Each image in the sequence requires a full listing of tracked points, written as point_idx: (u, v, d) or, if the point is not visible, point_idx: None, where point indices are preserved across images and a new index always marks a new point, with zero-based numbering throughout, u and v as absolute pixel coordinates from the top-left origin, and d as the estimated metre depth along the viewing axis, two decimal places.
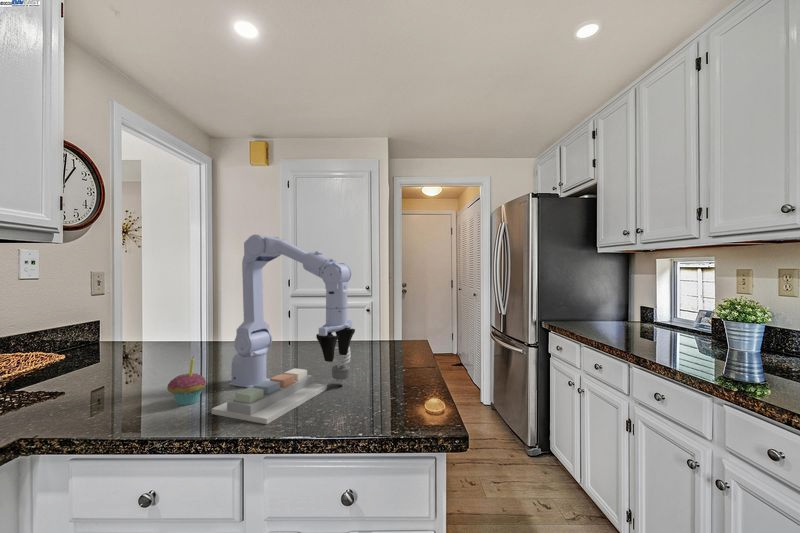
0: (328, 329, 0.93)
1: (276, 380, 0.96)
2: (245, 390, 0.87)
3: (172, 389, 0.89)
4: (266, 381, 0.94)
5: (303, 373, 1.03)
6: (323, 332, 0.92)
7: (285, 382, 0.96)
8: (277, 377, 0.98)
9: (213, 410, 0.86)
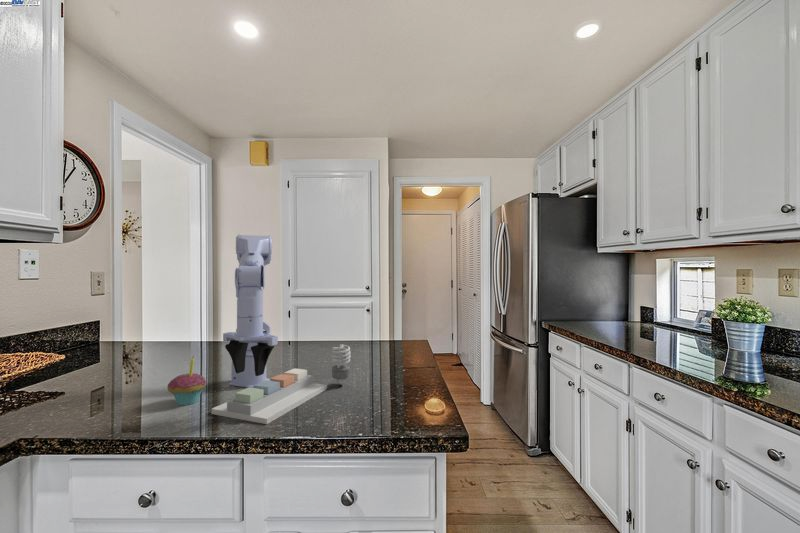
0: (226, 335, 0.88)
1: (276, 380, 0.96)
2: (245, 390, 0.87)
3: (172, 389, 0.89)
4: (266, 381, 0.94)
5: (303, 373, 1.03)
6: None
7: (285, 382, 0.96)
8: (277, 377, 0.98)
9: (213, 410, 0.86)
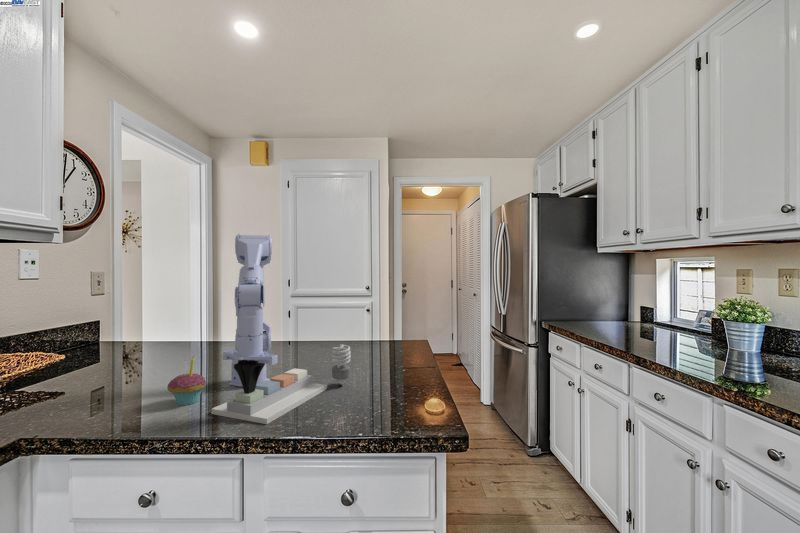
0: (226, 354, 0.88)
1: (276, 380, 0.96)
2: None
3: (172, 389, 0.89)
4: (266, 381, 0.94)
5: (303, 373, 1.03)
6: None
7: (285, 382, 0.96)
8: (277, 377, 0.98)
9: (213, 410, 0.86)
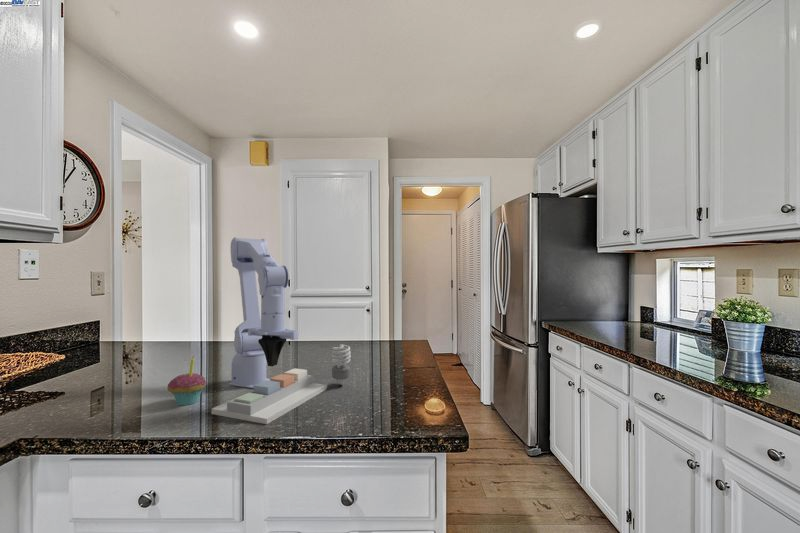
0: (251, 330, 0.95)
1: (276, 380, 0.96)
2: (245, 395, 0.87)
3: (172, 389, 0.89)
4: (266, 381, 0.94)
5: (303, 373, 1.03)
6: None
7: (285, 382, 0.96)
8: (277, 377, 0.98)
9: (213, 410, 0.86)
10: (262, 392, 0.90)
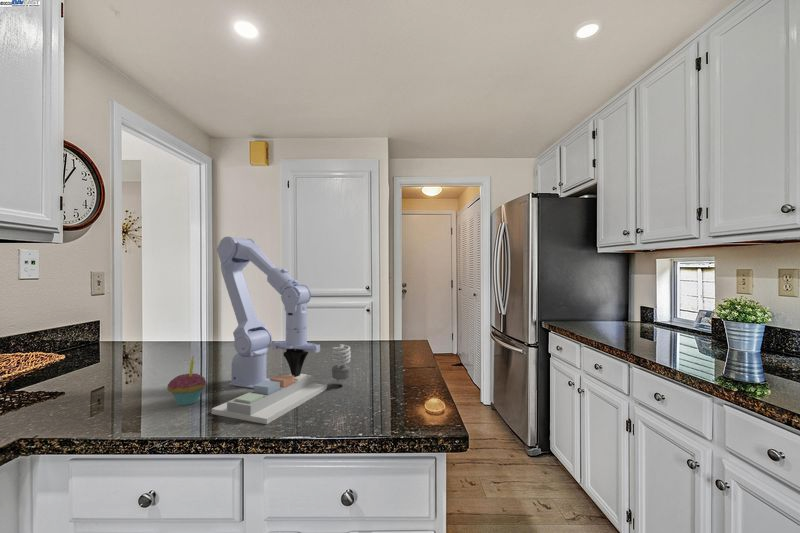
0: (276, 344, 1.04)
1: (276, 380, 0.96)
2: (245, 395, 0.87)
3: (172, 389, 0.89)
4: (266, 381, 0.94)
5: (303, 378, 1.03)
6: None
7: (285, 382, 0.96)
8: (277, 377, 0.98)
9: (213, 410, 0.86)
10: (262, 392, 0.90)
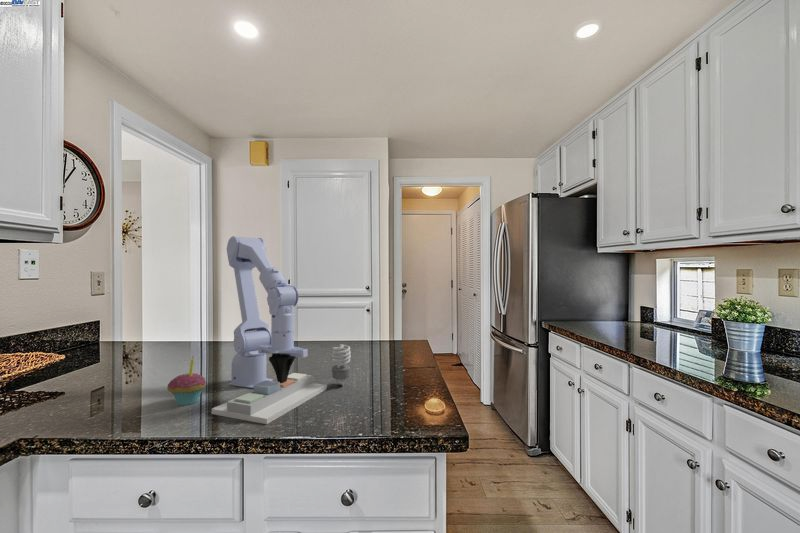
0: (261, 348, 0.99)
1: None
2: (245, 395, 0.87)
3: (172, 389, 0.89)
4: (266, 381, 0.94)
5: (303, 378, 1.03)
6: None
7: (285, 386, 0.96)
8: None
9: (213, 410, 0.86)
10: (262, 392, 0.90)
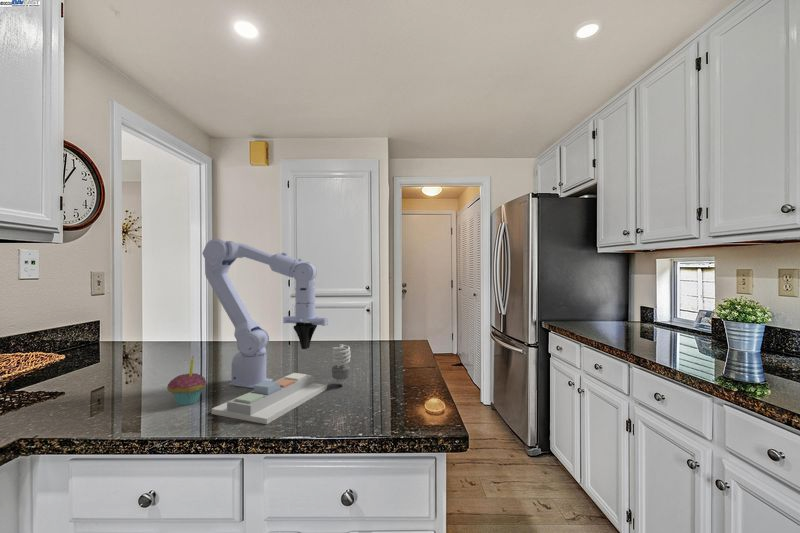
0: (286, 318, 1.10)
1: None
2: (245, 395, 0.87)
3: (172, 389, 0.89)
4: (266, 381, 0.94)
5: (303, 378, 1.03)
6: None
7: None
8: None
9: (213, 410, 0.86)
10: (262, 392, 0.90)
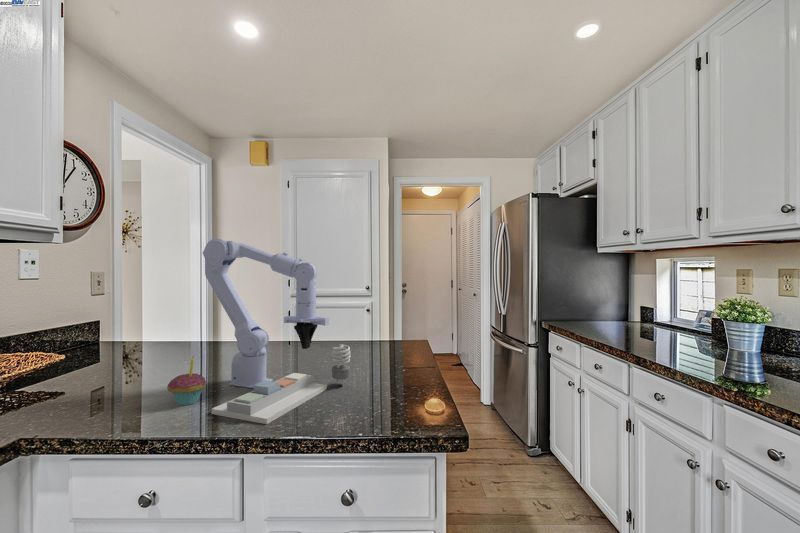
0: (286, 318, 1.10)
1: None
2: (245, 395, 0.87)
3: (172, 389, 0.89)
4: (266, 381, 0.94)
5: (303, 378, 1.03)
6: None
7: None
8: None
9: (213, 410, 0.86)
10: (262, 392, 0.90)
